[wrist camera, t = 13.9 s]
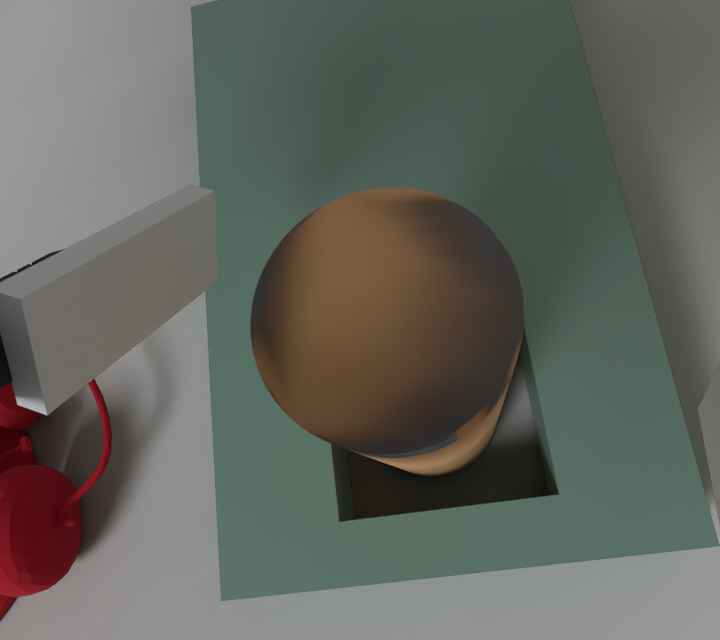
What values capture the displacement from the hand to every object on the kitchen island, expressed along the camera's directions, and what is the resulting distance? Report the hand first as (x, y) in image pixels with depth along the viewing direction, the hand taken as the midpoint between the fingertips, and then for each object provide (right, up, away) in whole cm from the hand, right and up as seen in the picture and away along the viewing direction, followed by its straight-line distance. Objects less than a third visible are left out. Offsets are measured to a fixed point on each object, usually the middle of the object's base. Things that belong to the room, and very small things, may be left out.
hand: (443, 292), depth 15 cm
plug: (0, -4, +6) cm, 7 cm away
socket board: (0, +2, +8) cm, 8 cm away
